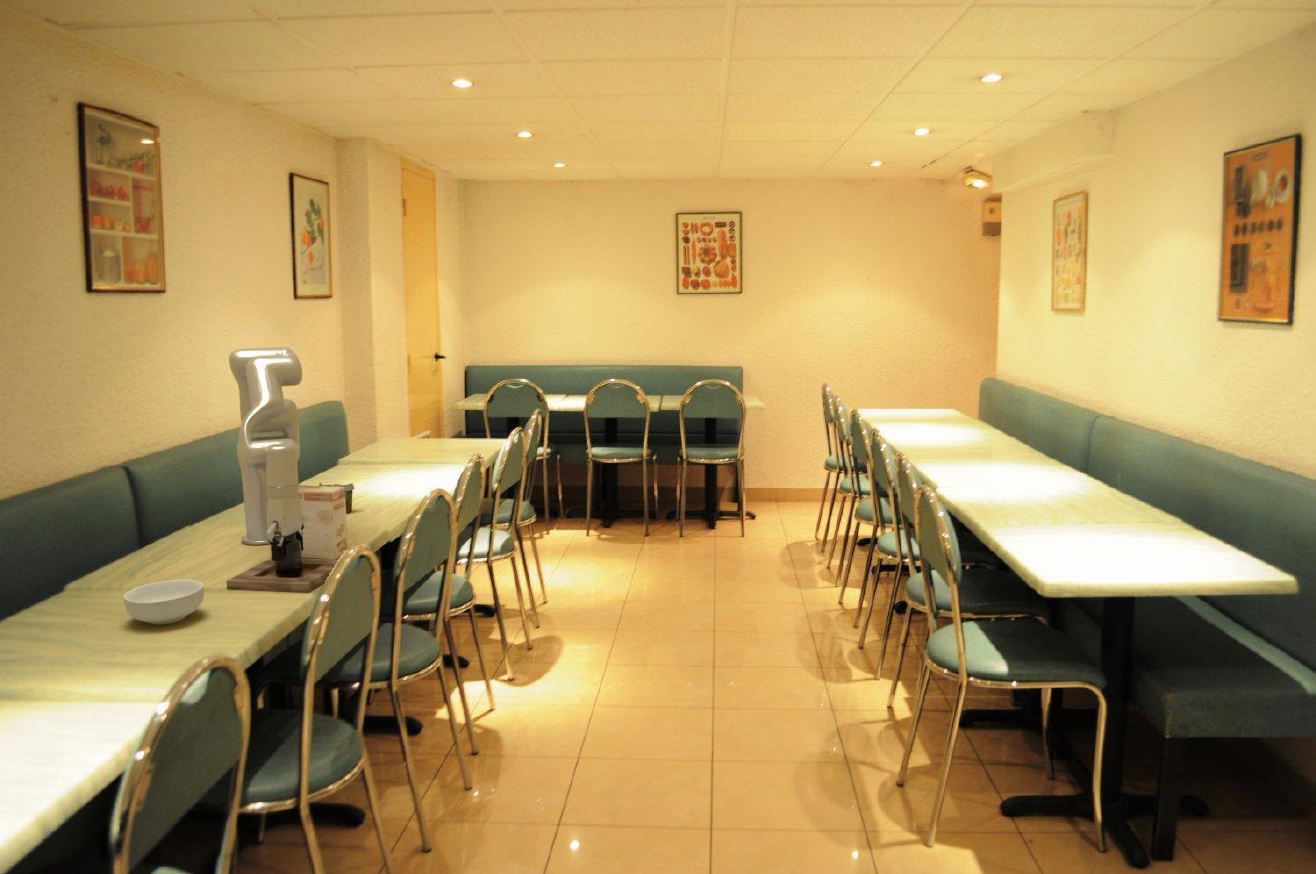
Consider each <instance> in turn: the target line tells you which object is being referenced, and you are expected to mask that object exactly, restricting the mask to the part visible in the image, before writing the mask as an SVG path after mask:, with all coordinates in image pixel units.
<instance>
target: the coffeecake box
mask: <svg viewBox="0 0 1316 874" xmlns="http://www.w3.org/2000/svg"><path fill="white" fill-rule="evenodd" d="M299 500H300V506H301V514H302V516H303V517H304V518H305V519H304V524H303V525H304V528H303V551H301V553H302V559H329V560H339V559H340V558H339V557H340V556H341V555H342V554H343V553H344V551H346V550H348V551H349V539H348V538H349V537H348V520H347V514H346V502H345V487H326V486H319V485H303V484H302V485H301V484H300V485H299Z"/></svg>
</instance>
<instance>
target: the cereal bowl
mask: <svg viewBox="0 0 1316 874" xmlns="http://www.w3.org/2000/svg"><path fill="white" fill-rule="evenodd" d="M204 596H205V586H204V584H203V583H202V582H201V581H198V580H194V579H193V580H192V579H173V580H172V579H171V580H170V579H169V580H163V581H157V582H155V581H154V582H152V583H147V584H143V585H139V586H137V587H135V588H132V589H130V590H128V591H127V592H126V593H125V594H124V595H123V602H124V608H125V610H126V612H127V614H128V615H129V616H130V617H131V618H133V619H134V620H137V621H140V622H145V623H149V624H151V625H168V624H173V623H177V622H180V621H183V620H184V619H185V618H187V616H188V615H191V614H192V613H194V612H195V611H196V610H198V608H200V607H201V604H202V603H203V602H204V601H203V600H204V598H205V597H204Z"/></svg>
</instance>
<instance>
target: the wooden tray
mask: <svg viewBox="0 0 1316 874" xmlns="http://www.w3.org/2000/svg"><path fill="white" fill-rule="evenodd" d="M337 560H338V559H336V560H330V559H317V558H302V565H303V573H302V574H301V575H299V576H296V577H291V578H279V577H277V576H276V573H275V562H274V561H272V557H270V558H268V559H266V560H264V561H262V562H260V563H259V564H256V565H254V566H253V567H251V568H249V569H246V570H245V571H243V572H240V573H239V574H238V575H235V576H233V577H232V578H229V579H228V580H226V581H225V583H226V590H234V591H235V590H237V591H240V590H241V591H261V592H278V593H279V592H280V593H281V592H283V593H285V592H286V593H287V592H288V593H305V594H307V593H310V592H312V591H313V590H315V589H316V588H318V587H320V586H322V585H323V584H324V581H325V580H326V579H327V577H328V576H329V573H330V572H331V571H332V569H333V568H334V566H335V564H336V563H337Z"/></svg>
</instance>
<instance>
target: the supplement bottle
mask: <svg viewBox="0 0 1316 874" xmlns="http://www.w3.org/2000/svg"><path fill="white" fill-rule="evenodd" d="M295 537H296V532H294V533H292V534H291V535H289V536H287V537H284V539H283V543H282V546H284V561H274V562H275V573H276V576H277V577H279V578H291V577H296V576H299V575H301V574H302V573H303V565H302V559H303V557H302V553H301V542H300V541H299V540H298V539H296V538H295ZM277 539H278V541H279V538H277Z"/></svg>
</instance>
